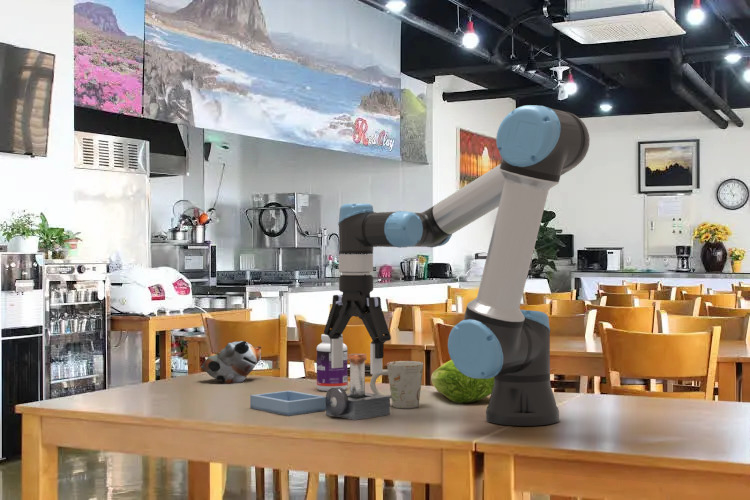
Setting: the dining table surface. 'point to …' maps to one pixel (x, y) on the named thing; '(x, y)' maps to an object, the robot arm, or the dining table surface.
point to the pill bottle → (330, 367)
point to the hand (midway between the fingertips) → (356, 370)
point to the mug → (402, 383)
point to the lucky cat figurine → (233, 362)
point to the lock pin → (357, 375)
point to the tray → (288, 402)
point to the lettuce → (460, 384)
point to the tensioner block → (356, 405)
